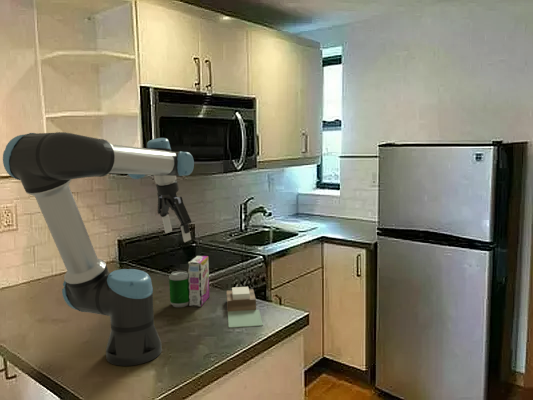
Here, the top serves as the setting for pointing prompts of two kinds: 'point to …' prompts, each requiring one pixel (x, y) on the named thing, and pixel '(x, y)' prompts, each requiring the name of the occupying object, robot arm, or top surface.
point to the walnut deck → (241, 302)
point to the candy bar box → (198, 280)
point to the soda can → (179, 288)
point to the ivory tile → (240, 293)
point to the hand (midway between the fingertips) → (177, 236)
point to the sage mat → (244, 318)
